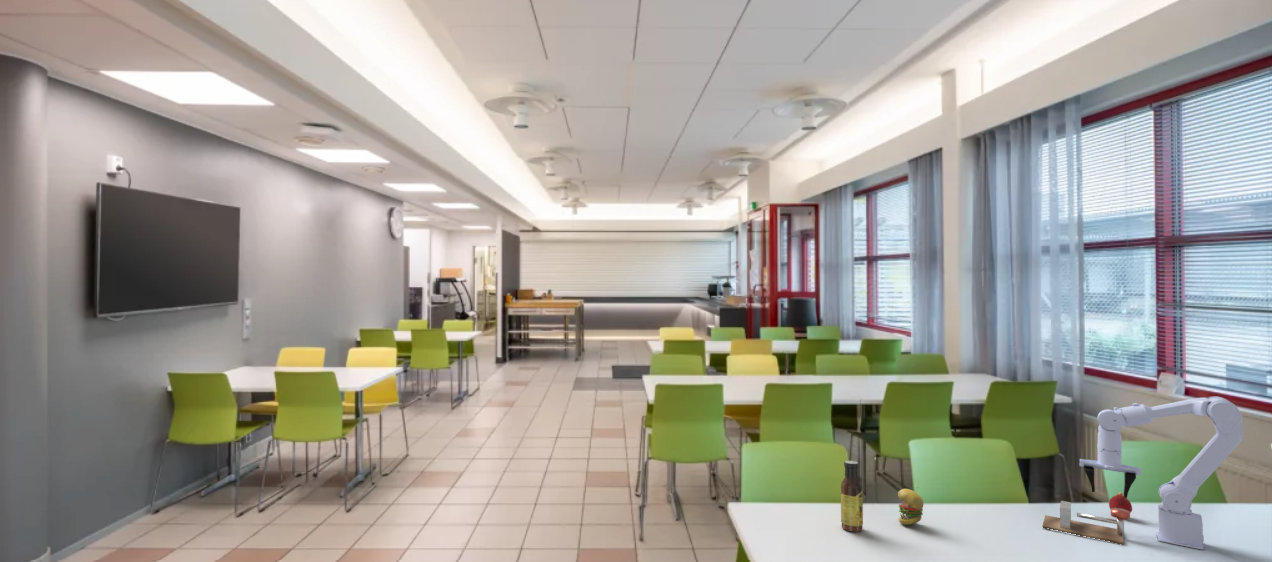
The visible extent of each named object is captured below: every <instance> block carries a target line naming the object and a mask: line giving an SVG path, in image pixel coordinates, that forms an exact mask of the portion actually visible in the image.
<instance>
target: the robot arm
mask: <svg viewBox="0 0 1272 562" xmlns="http://www.w3.org/2000/svg"><path fill="white" fill-rule="evenodd" d="M1186 414H1187V415H1188V414H1191V415H1196V416H1198V417H1199V416H1200V417H1202V418H1203V417H1204V418H1205V417H1206V416H1207V417H1208V418H1209V419H1210V420H1211V421H1212V425H1213V427H1214V429H1215V430H1214V431H1215V432H1216V433H1215V434H1214V435H1213V436H1212V437H1211V439H1210V440H1209V441H1208V442H1207V444H1205V445H1204V447H1203V448H1202V449H1201V450H1200V451H1199V452H1198V453H1197V455H1196V456H1195V457H1194V458H1193V459H1192V460H1191V461H1190V462H1189V463H1188V464H1187V466H1186V467H1185V468H1184V469H1183V470H1182V471H1181V472H1180V474H1178V475H1176V476H1174V477H1173V478H1172V479H1171V480H1170V481H1169V482H1166V483H1163V484H1161V485H1160V487H1159V488H1158V495H1159V497H1160V498H1161V503H1159V504H1158V505H1157V506H1158V509H1157V510H1158V531H1155V533H1157V534H1156V537H1158V538H1157V540H1158V541H1159V542H1160V543H1161V542H1162V543H1167V544H1172V545H1178V546H1183V547H1188V548H1191V549H1192V548H1193V549H1197V550H1204V549H1205V548H1204V541H1205V538H1204V529H1203V527H1204V526H1203V525H1204V523H1203V517H1202V514H1200V513H1195V512H1193V511H1192V509H1191V508H1192V504H1193V503H1192V502H1193V499H1194V498H1195V497H1196V496H1197V494H1198V491H1199V488H1200V487H1201V486H1202V485H1203V484H1204V483H1205V482H1206V480H1208V478H1209V477H1210V476H1211V475H1212V474H1213V473H1214V471H1216V470H1217V469H1218V468H1219V466H1220V465H1221V464H1222V463H1223V462H1224V461H1225V460H1226V459H1227V457H1229V456H1230V455H1231V454H1232V452H1233V451H1234V450H1235V449H1236V448H1237V447H1238V446H1239V444H1240V443H1241V442H1242V441H1243V438H1244V429H1243V420H1244V419H1243V418H1244V417H1243V415H1242V413H1241V411H1240V410H1239V408H1238V407H1237V405H1236V404H1234V403H1233V402H1231V401H1230V400H1229V399H1226V398H1224V397H1222V396H1216V395H1215V396H1214V395H1213V396H1209V397H1196V398H1188V399H1184V400H1180V401H1174V402H1169V403H1165V404H1159V405H1155V406H1148V405H1146V404H1144V403H1141V404H1139V403H1138V402H1135V403H1132V405H1130V406H1124V407H1118V406H1115V407H1113V410H1112V409H1109V408H1107V409H1103V410H1101V411H1100V412H1099V413H1098V414H1097V417H1096V420H1097V422H1098V426H1097V431H1098V432H1097V460H1094V459H1083V458H1079V467H1081V468H1082V467H1083V470H1084V473H1085V474H1086V476H1087V479H1088V480H1089V484H1090V486H1091V487H1090V488H1091V492H1092V493H1095V490H1096V489H1095V487H1096V486H1095V469H1099V470H1105V471H1111V472H1117V473H1124V479H1123V481H1124V486H1123V496H1124V498H1127V499H1128V495H1129V491H1130V490H1131V487H1132V485H1133V483H1134V482H1135V481H1136V479H1137V476H1139V477H1141V476H1142V474H1141V473H1142V472H1141V471H1142V469H1141V467H1137V466H1136V467H1135V466H1132V465H1126V464H1122V434H1121V429H1122V427H1126V428H1129V427H1135V426H1136V427H1137V426H1141V425H1148V424H1152V423H1153V422H1154V420H1155V419H1158V418H1164V417H1171V416H1172V417H1173V416H1180V415H1186Z"/></svg>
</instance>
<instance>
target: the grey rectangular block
mask: <svg viewBox="0 0 1272 562" xmlns="http://www.w3.org/2000/svg"><path fill="white" fill-rule="evenodd" d="M1071 504H1072V503H1071V501H1070V502H1069V501H1064V500H1061V501H1060V505H1059V518H1060V528H1065V529H1070V526H1071V520H1072V512H1071V511H1072V505H1071Z"/></svg>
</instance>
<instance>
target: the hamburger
mask: <svg viewBox="0 0 1272 562" xmlns="http://www.w3.org/2000/svg"><path fill="white" fill-rule="evenodd" d="M918 488H919V486H917V488H916V489H915V491H914V490H912V489H910V488H901V489H900V490H898V492H897V496H898V498H899V502H901V501H902V502H901V503H900V504H899V503H898V507H899V510H898V513H899V512H900V513H899V514H900V517H899V518H898V522H899V523H900V524H902V525H905V526H909V525H910V526H911V525H914V524H917V523H919V522H920V521H921V520H922V516H923V514H924V513H923V509H924V508H923V507H924V500H923V498H922V496H921V495H920V494H918V493H917V491H918Z"/></svg>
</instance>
